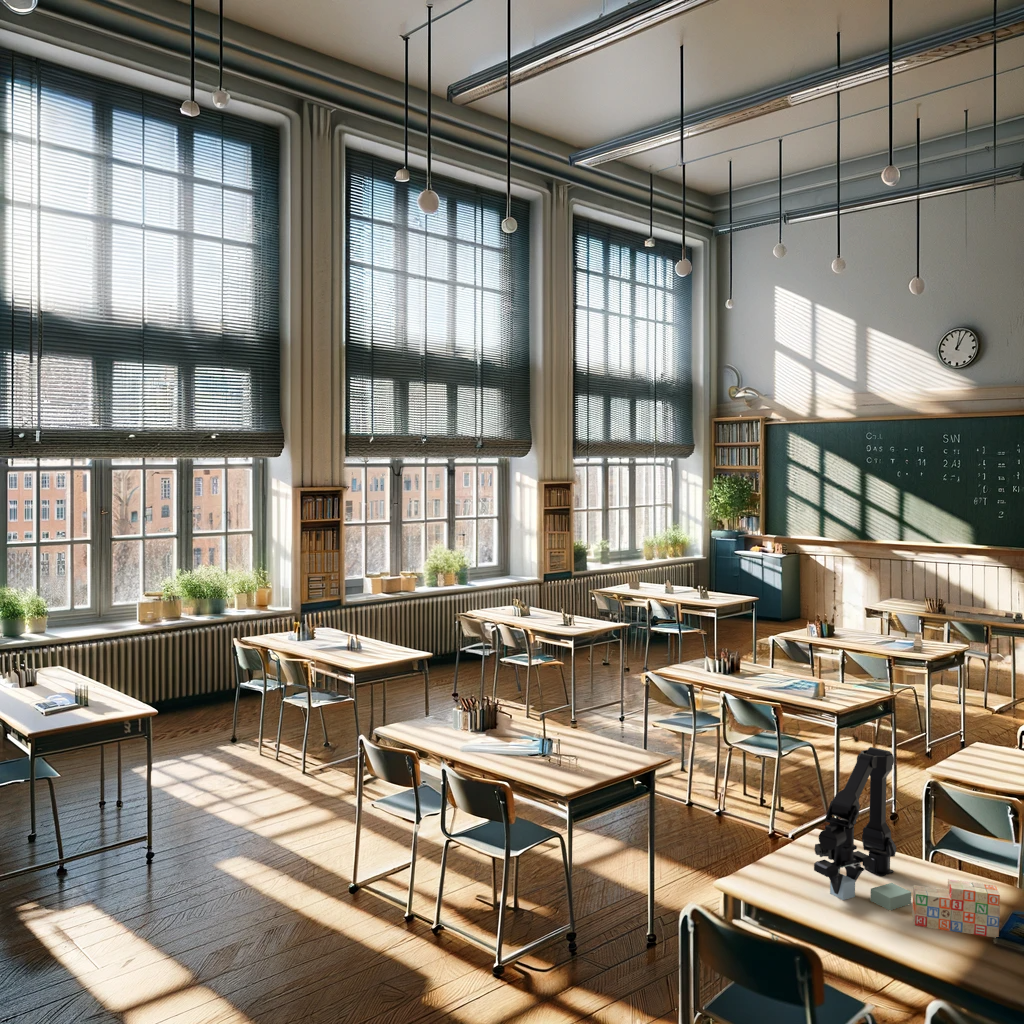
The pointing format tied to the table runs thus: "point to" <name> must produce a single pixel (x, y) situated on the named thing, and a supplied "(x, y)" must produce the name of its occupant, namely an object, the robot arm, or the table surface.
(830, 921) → the table surface
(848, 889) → the cube
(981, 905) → the stack of blocks
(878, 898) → the pale green block
